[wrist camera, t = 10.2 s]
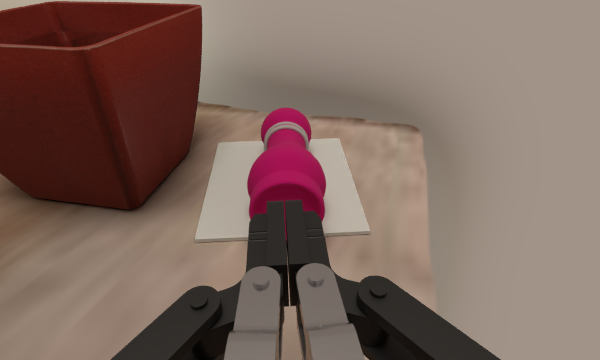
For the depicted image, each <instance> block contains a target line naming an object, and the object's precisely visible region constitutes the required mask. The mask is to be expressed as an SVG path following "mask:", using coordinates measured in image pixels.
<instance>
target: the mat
mask: <svg viewBox="0 0 600 360" xmlns="http://www.w3.org/2000/svg"><path fill="white" fill-rule="evenodd" d="M308 151H309V152H310V153H311V154H312V155H313V156H314V157H315V158H316V159H317V160H318V161H319V163H320V165H321V166H322V169H323V172H324V175H325V178H326V191H325V195H324V197H323V199H324V205H325V216H324V219H323V221H322V226H323V231H324V236H342V235H363V234H370V229H369V226H368V223H367V220H366V217H365V214H364V211H363V208H362V205H361V202H360V199H359V196H358V193H357V190H356V187H355V184H354V181H353V178H352V175H351V172H350V169H349V166H348V163H347V160H346V157H345V154H344V151H343V148H342V146H341V143H340V140H339V138H336V139H311V140H310V143H309V149H308ZM263 152H265V150H264V144H263V142H262V141H247V142H219V143H218V147H217V151H216V155H215V159H214V163H213V167H212V171H211V175H210V180H209V184H208V188H207V192H206V196H205V200H204V204H203V208H202V212H201V216H200V220H199V224H198V228H197V232H196V236H195V243H200V242H220V241H241V240H248V234H249V222H250V221H251V220H250V216H249V205H250V197H249V194H248V189H247V180H248V176H249V172H250V169H251V167H252V165H253V163H254V162H255V161H256V159H257V158H258V157H259V156H260V155H261V154H262V153H263Z"/></svg>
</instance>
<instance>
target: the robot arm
mask: <svg viewBox="0 0 600 360" xmlns="http://www.w3.org/2000/svg"><path fill="white" fill-rule="evenodd" d="M285 217H286V233H285ZM286 241H287V249H286ZM287 257H288V266H287ZM288 273H289V289H290V304H291V306H296V312H297V329H298V335H299V341H300V347H301V354H302V360H365V359H364V356H363V354H364V355H365V356H366V357H367V358H368V359H369V360H500V359H499V358H498V357H496V356H495V355H493V354H492V353H491V352H489V351H488V350H486V349H485V348H484V347H482V346H481V345H479V344H478V343H477V342H475V341H474V340H472V339H471V338H469V337H468V336H467V335H465V334H464V333H463V332H461V331H460V330H458V329H457V328H456V327H454V326H453V325H451V324H450V323H449V322H447V321H446V320H444V319H443V318H442V317H440V316H439V315H437V314H436V313H435V312H433V311H432V310H431V309H429V308H428V307H426V306H425V305H424V304H422V303H421V302H419V301H418V300H417V299H415V298H414V297H412V296H411V295H410V294H408V293H407V292H405V291H404V290H403V289H401V288H400V287H398V286H397V285H396V284H394V283H393V282H391V281H390V280H388V279H387V278H384V277H381V276H369V277H366V278H364V279H363V280H362V281H361V282H360V283H359V282H354V281H350V280H346V279H343V278H341V277H340V276H338V275H337V274H336V273H335V272H334V271H333V270H332V268H331V266H330V263H329V258H328V252H327V247H326V242H325V237H324V231H323V226H322V221H321V218H320V217H319V216H318V214H317V213H316V212H315V211H303V204H302V200H285V216H284V201H267V213H265V214H254V216H253V217H252V219H251V221H250V222H249V234H248V250H247V265H246V273H245V275H244V276H243V278H242V280H241V281H240V282H239V283H237V284H236V285H234V286H232V287H230V288H228V289H225V290H222V291H219V292H217V290H215V289H214V288H212V287H209V286H198V287H194V288H192V289H190V290H188V291H187V292H186V293H185V294H183V295H182V296H181V297H180V298H179V299H178V300H177V301H176V302H174V303H173V304H172V305H171V306H170V307H169V308H168V309H167V310H166V311H164V312H163V313H162V314H161V315H160V316H159V317H158V318H157V319H155V320H154V321H153V322H152V323H151V324H150V325H149V326H148V327H147V328H145V329H144V330H143V331H142V332H141V333H140V334H139V335H138V336H136V337H135V338H134V339H133V340H132V341H131V342H130V343H129V344H128V345H126V346H125V347H124V348H123V349H122V350H121V351H120V352H119V353H117V354H116V355H115V356H114V357H113V358H112V359H111V360H282V339H283V323H284V307H285V306H289V296H288Z"/></svg>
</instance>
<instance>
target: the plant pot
mask: <svg viewBox="0 0 600 360" xmlns="http://www.w3.org/2000/svg"><path fill="white" fill-rule="evenodd" d="M201 55H202V9H201V6H200V5H191V4H162V3H161V4H160V3H129V2H128V3H127V2H69V1H55V2H45V3H40V4H35V5H29V6H25V7H18V8H13V9H8V10H2V11H0V173H1V174H2V175H3V176H5V177H6V178H7V179H8V180H10V181H11V182H12V183H14V184H15V185H16V186H18V187H19V188H20V189H22V190H23V191H25V192H26V193H27V194H29V195H30V196H32V197H35V198H43V199H51V200H59V201H67V202H75V203H82V204H90V205H98V206H106V207H113V208H121V209H133V208H136V207H138V206H140V205H141V204H142V203H143V202H144V201H145V200H146V198H147V197H148V196H149V195H150V194H151V193H152V192H153V191H154V190H155V189H156V187H157V186H158V185H159V184H160V183H161V182H162V181H163V180H164V179H165V178H166V177H167V175H168V174H169V173H170V172H171V171H172V170H173V169H174V168H175V167H176V165H177V164H178V163H179V162H180V161H181V160H182V159H183V158H184V157H185V156H186V154H187V153H188V152H189V148H190V144H191V140H192V135H193V129H194V123H195V117H196V110H197V102H198V93H199V83H200V72H201Z"/></svg>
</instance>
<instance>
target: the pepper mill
mask: <svg viewBox="0 0 600 360" xmlns="http://www.w3.org/2000/svg"><path fill="white" fill-rule="evenodd" d="M261 138H262V142H263V144H264V150H265V152H263V153H262V154H261V155H260V156H259V157H258V158H257V159H256V161H255V162H254V163H253V165H252V167H251V169H250V172H249V176H248V180H247V189H248V194H249V197H250V205H249V216H250V220H251V219H252V217H253V216H254V214H265V213H267V201H284V216H285V200H302V204H303V211H315V212H316V213H317V214H318V216H319V217H320V218H321V221H323V219H324V216H325V205H324V199H323V197H324V195H325V191H326V178H325V175H324V172H323V169H322V166H321V165H320V163H319V161H318V160H317V159H316V158H315V157H314V156H313V155H312V154H311V153H310V152H309V151H308V149H309V143H310V140H311V128H310V124H309V122H308V120H307V118H306V117H305V116H304V115H303V114H302V113H300V112H299V111H297V110H295V109H292V108H280V109H277V110H275V111H273V112H271V113H270V114H269V115H268V116H267V117H266V119H265V120H264V122H263V125H262V128H261ZM285 233H286V217H285ZM286 242H287V241H286Z"/></svg>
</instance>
